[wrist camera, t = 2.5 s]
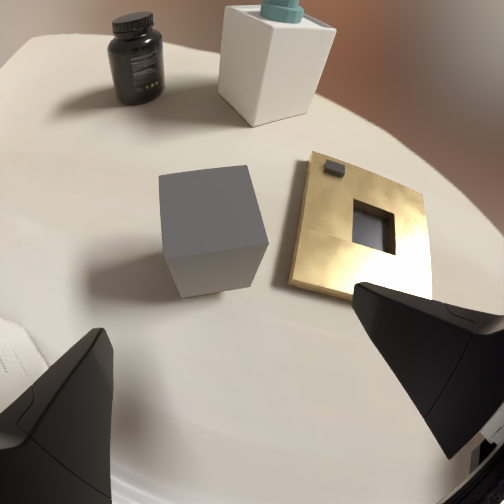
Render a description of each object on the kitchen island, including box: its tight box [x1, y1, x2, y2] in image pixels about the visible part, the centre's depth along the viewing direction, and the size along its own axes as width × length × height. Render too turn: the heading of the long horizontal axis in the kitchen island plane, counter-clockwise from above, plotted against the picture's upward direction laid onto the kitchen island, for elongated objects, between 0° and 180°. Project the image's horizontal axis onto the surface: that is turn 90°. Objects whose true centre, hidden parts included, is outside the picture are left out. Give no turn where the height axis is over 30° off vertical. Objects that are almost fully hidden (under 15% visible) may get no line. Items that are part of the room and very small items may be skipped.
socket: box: [287, 151, 432, 301], centre depth 24 cm, size 14×14×2 cm
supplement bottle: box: [107, 11, 165, 105], centre depth 24 cm, size 7×7×12 cm
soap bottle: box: [218, 0, 336, 127], centre depth 22 cm, size 9×9×19 cm
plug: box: [159, 165, 269, 298], centre depth 17 cm, size 5×5×9 cm
